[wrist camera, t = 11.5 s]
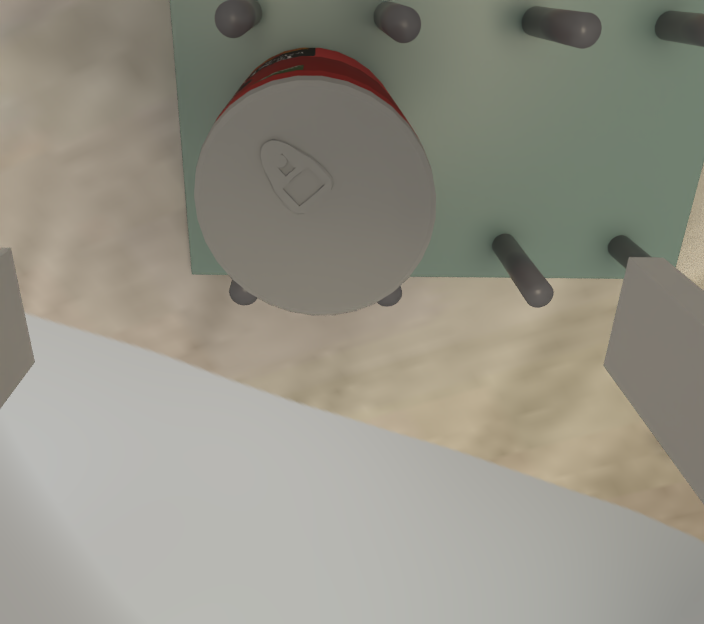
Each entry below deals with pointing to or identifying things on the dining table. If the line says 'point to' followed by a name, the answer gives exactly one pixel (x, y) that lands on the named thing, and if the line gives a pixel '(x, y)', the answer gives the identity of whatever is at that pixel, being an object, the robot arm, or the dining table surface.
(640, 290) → the robot arm
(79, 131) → the dining table surface
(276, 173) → the canned food
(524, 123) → the rack
